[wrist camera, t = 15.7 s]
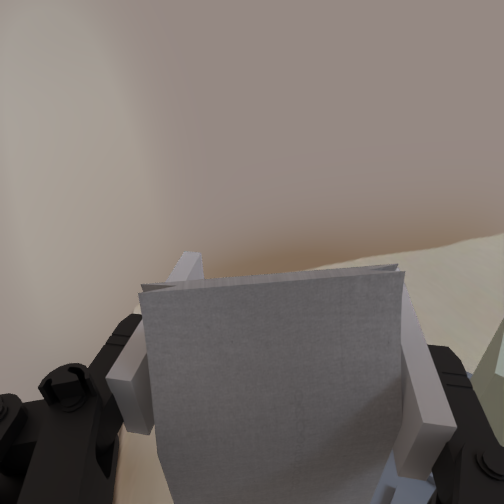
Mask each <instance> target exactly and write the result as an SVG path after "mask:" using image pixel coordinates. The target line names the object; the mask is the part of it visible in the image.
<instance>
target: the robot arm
mask: <svg viewBox="0 0 504 504" xmlns="http://www.w3.org/2000/svg"><path fill="white" fill-rule="evenodd" d="M395 271H400V269H399V268H398V267H397V268H396V270H395ZM201 279H204V274H203V265H202V257H201V253H200V252H186V251H184V253H183V255H182V256H181V258H180V259H179V261H178V263H177V264H176V266H175V267H174V269H173V271H172V272H171V274H170V275H169V277H168V279H167V280H166V282H176V281H189V280H201ZM401 385H402V425H401V428H400V430H399V433H398V435H397V438H396V440H395V442H394V445H393V447H392V448H393V454H394V459H395V464H396V470H397V475H398V476H399V477H405V478H411V479H417V480H423V481H426V480H427V479H428V477H429V475H430V473H431V472H432V474H433V478H434V481H435V485H436V489H435V491H434V492H433V494H432V496H431V497H430V499H429V500H428V502H427V504H504V447H503V446H501V445H500V444H499V442H498V440H497V439H496V437H495V435H494V432H493V430H492V428H491V426H490V424H489V421H488V419H487V417H486V415H485V413H484V410H483V408H482V406H481V404H480V402H479V399H478V397H477V395H476V393H475V391H474V390H473V386H472V384H471V382H470V380H469V378H468V377H467V373H466V371H465V369H464V366H463V364H462V362H461V360H460V359H459V358H458V357H457V356H456V355H455V354H454V352H453V351H452V350H451V349H450V348H449V347H445V346H436V345H427V343H426V340H425V338H424V335H423V332H422V329H421V327H420V324H419V321H418V318H417V316H416V313H415V310H414V308H413V305H412V302H411V299H410V297H409V294H408V291H407V288H406V286H405V283H404V284H403V292H402V309H401ZM38 389H39V390H40V392H41V394H42V396H43V397H44V399H43V400H37V401H32V402H25V403H22V401H21V400H20V399H19V397H18V396H17V395H14V394H9V393H8V394H2V395H0V504H112V501H113V492H114V484H115V475H116V466H117V458H118V449H119V437H118V432H119V430H120V428H121V426H122V424H123V422H124V425H125V427H126V430H127V432H133V433H139V434H145V435H150V433H151V430H152V428H153V426H154V414H153V405H152V395H151V385H150V376H149V366H148V357H147V349H146V341H145V333H144V325H143V318H142V315H141V314H130V315H129V316H128V317H126V318H125V319H124V320H122V321H121V322H120V323H119V324H118V326H117V327H116V329H115V330H114V332H113V333H112V336H110V337H109V339H108V340H107V342H106V344H105V345H104V346H103V347H102V349H101V350H100V352H99V353H98V354H97V356H96V357H95V359H94V360H93V362H92V363H91V364H90V366H89V367H88V368H87V367H86V366H85V365H82V364H79V363H71V364H66V365H64V366H60V367H58V368H57V369H55V370H53V371H52V372H50V373H49V374H48V375H47V376H46V377H45V378H44V379H43V380H42V382H41V383H40V385H39V386H38Z"/></svg>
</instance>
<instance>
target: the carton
mask: <svg viewBox="0 0 504 504" xmlns="http://www.w3.org/2000/svg"><path fill="white" fill-rule="evenodd" d="M470 382H471V384H472V386H473V390H474V391H475V393H476V395H477V397H478V399H479V402H480V404H481V406H482V408H483V410H484V413H485V415H486V417H487V419H488V421H489V424H490V426H491V428H492V430H493V432H494V435H495V437H496V439H497V440H498V442H499V444H500V445H501V446H503V447H504V319H503V320H502V322H501V324H500V326H499V328H498V330H497V331H496V333H495V335H494V337H493V339H492V341H491V342H490V344H489V346H488V348H487V350H486V352H485V353H484V355H483V357H482V359H481V361H480V363H479V364H478V366H477V368H476V370H475V372H474V374H473V375H472V377H471V379H470Z"/></svg>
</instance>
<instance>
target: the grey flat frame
mask: <svg viewBox="0 0 504 504" xmlns="http://www.w3.org/2000/svg"><path fill="white" fill-rule="evenodd" d="M466 373H467V377H468V378H469V380H470V379H471V377H472V375H473V374H471V373H468V372H466ZM435 489H436V485H435V481H434V478H433V474H432V472H431V473H430V475H429V477H428V479H427V480H426V481H423V480H417V479H411V478H405V477H399V476H398V475H397V470H396V464H395V459H394V454H393V448H392V451H391V453H390V456H389V458H388V461H387V463H386V466H385V468H384V470H383V473H382V475H381V478H380V480H379V483H378V485H377V488H376V490H375V492H374V495H373V497H372V500H371V502H370V504H427V502H428V500H429V499H430V497H431V496H432V494H433V492H434V491H435Z"/></svg>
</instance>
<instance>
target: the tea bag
mask: <svg viewBox="0 0 504 504" xmlns="http://www.w3.org/2000/svg"><path fill="white" fill-rule="evenodd" d="M397 266H398V264H389V265H376V266H364V267H351V268H339V269H326V270H314V271H301V272H289V273H276V274H264V275H251V276H240V277H226V278H214V279H201V280H189V281H176V282H164V283H152V284H141V287H142V290H143V292H142V293H138V295H139V301H140V307H141V313H142V318H143V325H144V333H145V341H146V349H147V357H148V366H149V376H150V385H151V395H152V405H153V414H154V424H155V434H156V443H157V453H158V457H159V460H160V463H161V466H162V469H163V472H164V475H165V478H166V481H167V484H168V487H169V490H170V493H171V496H172V498H173V501H174V504H370V502H371V500H372V497H373V495H374V492H375V490H376V488H377V485H378V483H379V480H380V478H381V475H382V473H383V470H384V468H385V466H386V463H387V461H388V458H389V456H390V453H391V451H392V447H393V445H394V442H395V440H396V438H397V435H398V433H399V430H400V428H401V425H402V385H401V309H402V292H403V284H404V276H405V271H395V270H396V268H397Z"/></svg>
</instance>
